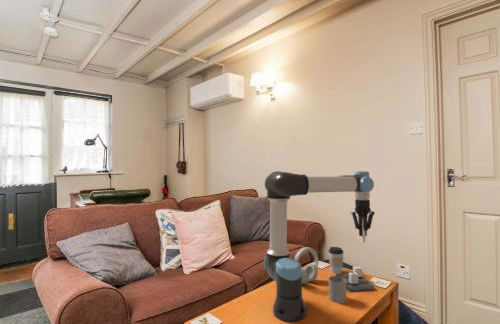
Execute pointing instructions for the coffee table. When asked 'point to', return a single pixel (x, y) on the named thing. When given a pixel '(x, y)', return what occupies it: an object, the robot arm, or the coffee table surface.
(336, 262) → the coffee cup
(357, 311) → the coffee table surface
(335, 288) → the cup
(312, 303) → the coffee table surface
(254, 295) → the coffee table surface
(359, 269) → the block
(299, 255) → the headphones
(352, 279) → the block
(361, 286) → the console
